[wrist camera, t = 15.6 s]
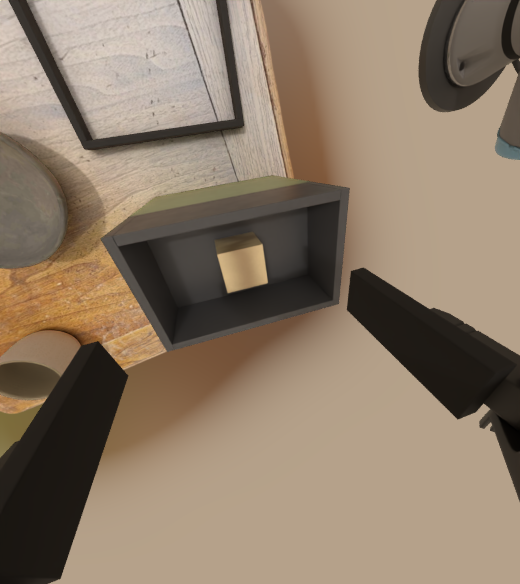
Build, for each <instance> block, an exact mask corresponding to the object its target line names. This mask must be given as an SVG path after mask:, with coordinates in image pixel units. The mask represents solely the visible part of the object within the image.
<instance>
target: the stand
mask: <svg viewBox="0 0 520 584" xmlns="http://www.w3.org/2000/svg"><path fill="white" fill-rule="evenodd" d="M305 182H310V181H304V180H298V179H292V178H285V177H279V176H273V175H272V176H266V177H261V178H255V179H250V180H245V181H239V182H234V183H228V184H223V185H218V186H212V187H207V188H201V189H196V190H191V191H185V192H180V193H174V194H169V195H163V196H158V197H155V198H154V199H152V200H151V201H150V202H148V203H147V204H146V205H144V206H143V207H142V208H140V209H139V210H138V211H136V212H135V213H134V214H132V215H131V216H135V215H140V214H145V213H150V212H156V211H161V210H166V209H171V208H176V207H181V206H187V205H192V204H197V203H202V202H207V201H212V200H218V199H223V198H228V197H233V196H238V195H243V194H249V193H254V192H259V191H264V190H269V189H274V188H280V187H285V186H290V185H295V184H300V183H305Z"/></svg>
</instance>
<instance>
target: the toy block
mask: <svg viewBox="0 0 520 584" xmlns="http://www.w3.org/2000/svg"><path fill="white" fill-rule="evenodd" d="M214 241H215V246H216V252H217V256H218V260H219V264H220V267H221V271H222V274H223V278H224V282H225V285H226V289H227V292H228V293H231V292H235V291H239V290H243V289H247V288H251V287H254V286H258V285H262V284H266V283H268V280H267V272H266V265H265V258H264V251H263V244H262V243H261V242H260V240H259V239H258V238H257V237H256V235H255V234H254V233H253V232H249V233H245V234H240V235H236V236H231V237H226V238H222V239H217V240H214Z"/></svg>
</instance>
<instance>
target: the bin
mask: <svg viewBox="0 0 520 584" xmlns="http://www.w3.org/2000/svg"><path fill="white" fill-rule="evenodd" d="M349 190H350V188H347V187H341V186H335V185H329V184H322V183H316V182H305V183H300V184H295V185H290V186H285V187H280V188H274V189H269V190H264V191H259V192H254V193H249V194H243V195H238V196H233V197H228V198H223V199H218V200H212V201H207V202H202V203H197V204H192V205H187V206H181V207H176V208H171V209H166V210H161V211H156V212H150V213H145V214H140V215H135V216H130V217H128V218H127V219H126V220H125V221H123V222H122V223H121V224H119V225H118V226H117V227H115V228H114V229H113V230H111V231H110V232H109V233H107V234H106V235H105V236H103V237H102V238H101V241H102V242H103V244H104V246H105V247H106V249H107V251H108V252H109V254H110V256H111V257H112V259H113V261H114V263H115V264H116V266H117V268H118V269H119V271H120V273H121V274H122V276H123V278H124V279H125V281H126V283H127V285H128V286H129V288H130V290H131V291H132V293H133V295H134V296H135V298H136V300H137V301H138V303H139V305H140V306H141V308H142V310H143V312H144V313H145V315H146V317H147V318H148V320H149V322H150V323H151V325H152V327H153V328H154V330H155V332H156V334H157V335H158V337H159V339H160V340H161V342H162V344H163V345H164V347H165V349H166V350H167V352H169V351H172V350H175V349H180V348H183V347H187V346H190V345H194V344H198V343H201V342H205V341H208V340H212V339H215V338H219V337H222V336H226V335H229V334H233V333H237V332H240V331H244V330H248V329H251V328H255V327H258V326H262V325H265V324H269V323H273V322H276V321H280V320H283V319H287V318H290V317H294V316H297V315H301V314H305V313H308V312H312V311H315V310H319V309H322V308H326V307H330V306H332V305H336V304H339V296H340V285H341V274H342V264H343V254H344V243H345V232H346V221H347V210H348V200H349ZM249 232H253V233H254V234H255V235H256V237H257V238H258V239H259V240H260V242H261V243H262V244H263V251H264V258H265V265H266V272H267V280H268V283H266V284H262V285H258V286H254V287H251V288H247V289H243V290H239V291H235V292H231V293H228V292H227V289H226V285H225V282H224V278H223V274H222V271H221V267H220V264H219V260H218V256H217V252H216V246H215V241H214V240H217V239H222V238H226V237H231V236H236V235H240V234H245V233H249Z"/></svg>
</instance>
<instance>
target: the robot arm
mask: <svg viewBox="0 0 520 584" xmlns="http://www.w3.org/2000/svg"><path fill="white" fill-rule="evenodd" d="M519 58H520V0H462V2H461V3H460V5H459V7H458V9H457V11H456V13H455V15H454V17H453V19H452V22H451V24H450V27H449V30H448V33H447V37H446V41H445V46H444V54H443V66H444V72H445V76H446V78H447V80H448V82H449V83H450V84H451V85H453V86H454V87H458V88H462V87H467V86H470V85H473V84H476V83H478V82H480V81H482V80H484V79H485V78H487V77H489V76H490V75H492V74H493V73H495V72H497V71H498V70H500V69H501V68H503V67H505V66H506V65H508V64H509V63H511V62H512V64H513V66H514V68H515V70H516V72H517V73H518V77H517V80H516V83H515V86H514V89H513V92H512V94H511V97H510V100H509V103H508V106H507V109H506V112H505V115H504V118H503V120H502V123H501V126H500V128H499V130H498V134H497V137H498V138H497V142H496V145H495V151H496V153H497V154H498V155H500V156H502V157H505V158H508V159H515V160H520V61H519ZM347 310H348V311H349V312H350V313H351V314H352V315H353V316H354V317H355V318H356V319H357V320H358V321H359V322H360V323H361V324H362V325H363V326H364V327H365V328H366V329H367V330H368V331H369V332H370V333H371V334H372V335H373V336H374V337H375V338H376V339H377V340H378V341H379V342H380V343H381V344H382V345H383V346H384V347H385V348H386V349H387V350H388V351H389V352H390V353H391V354H392V355H393V356H394V357H395V358H396V359H397V360H398V361H399V362H400V363H401V364H402V365H403V366H404V367H405V368H406V369H407V370H408V371H409V372H410V373H411V374H412V375H413V376H414V377H415V378H417V380H418V381H419V382H421V384H423V386H425V387H426V389H428V390H429V391H430V392H431V393H432V394H433V395H434V396H435V397H436V398H437V399H438V400H439V401H440V402H441V403H442V404H443V405H444V406H445V407H446V408H447V409H448V410H449V411H450V412H451V413H452V414H453V415H454V416H455V417H456V418H457V419H460V418H463V417H465V416H467V415H470V414H472V413H475V412H476V411H477V410H478V409H479V408H480V407H481V406H482V405H483V403H484V404H485V405H486V406H488V407H489V408H490V410H489V411H488V412H487V413H486V414H485V416H484V417H483V418H482V419H481V420H480V428H483V429H484V428H485V427H486V426H487V425H488V424H489V423H490V422H491V423H492V426H491V428H490V431H493V432H495V434H496V436H497V440H498V442H499V445H500V448H501V451H502V453H503V456H504V459H505V462H506V465H507V467H508V470H509V473H510V476H511V478H512V481H513V484H514V487H515V490H516V492H517V495H518V498H519V501H520V355H518V354H516V353H515V352H513V351H511V350H509V349H508V348H506V347H505V346H503V345H501V344H499V343H497V342H496V341H494V340H493V339H491V338H489V337H488V336H486V335H484V334H483V333H481V332H479V331H476V330H475V329H474V328H473V327H471V326H469V325H468V324H464V323H463V321H461V320H459V319H458V318H456V317H454V316H453V315H451V314H449V313H446V312H444V311H441V310H438V309H435V308H432V309H428V308H427V307H425V306H424V305H422V304H420V303H419V302H417V301H416V300H414V299H413V298H411V297H409V296H408V295H406V294H405V293H403V292H401V291H400V290H398V289H396V288H395V287H393V286H392V285H390V284H389V283H387V282H385V281H384V280H382V279H381V278H379V277H378V276H376V275H374V274H373V273H371V272H370V271H368V270H367V269H365V268H360V269H357V270H353V271H351V277H350V285H349V295H348V305H347ZM127 378H128V375H127V374H126V373H125V371H124V370H123V369H122V368H121V367H120V366H119V365H118V363H117V362H116V361H115V360H114V359H113V358H112V356H111V355H110V354H109V353H108V352H107V351H106V350H105V348H104V347H103V346H102V345H101V344H100V343H99V342H98V341H97V342H94V343H90V344H86V345H83V346H81V347H80V348H79V350H78V351H77V353H76V354H75V356H74V357H73V359H72V361H71V362H70V364H69V365H68V367H67V368H66V370H65V371H64V373H63V374H62V376H61V377H60V379H59V381H58V382H57V384H56V385H55V387H54V388H53V390H52V391H51V393H50V394H49V396H48V397H47V399H46V401H45V402H44V404H43V405H42V407H41V408H40V410H39V411H38V413H37V414H36V416H35V417H34V419H33V421H32V422H31V424H30V425H29V427H28V428H27V430H26V432H25V433H24V435H23V436H22V438H21V439H20V441H17V442H15V443H14V444H13V445H12V446H11V447H10V448H9V449H8V450H7V451H6V452H5V454H4V455H3V456H2V457H1V458H0V584H48V583H51V582H53V581H56V580H58V579H60V578H61V576H62V573H63V569H64V567H65V564H66V560H67V558H68V554H69V552H70V549H71V545H72V542H73V539H74V537H75V534H76V531H77V527H78V525H79V522H80V519H81V516H82V512H83V510H84V507H85V503H86V501H87V498H88V495H89V492H90V489H91V486H92V483H93V480H94V477H95V474H96V471H97V468H98V465H99V462H100V459H101V456H102V453H103V450H104V447H105V444H106V441H107V438H108V435H109V432H110V429H111V426H112V423H113V420H114V417H115V414H116V411H117V408H118V405H119V402H120V399H121V396H122V393H123V390H124V387H125V384H126V381H127Z"/></svg>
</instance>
